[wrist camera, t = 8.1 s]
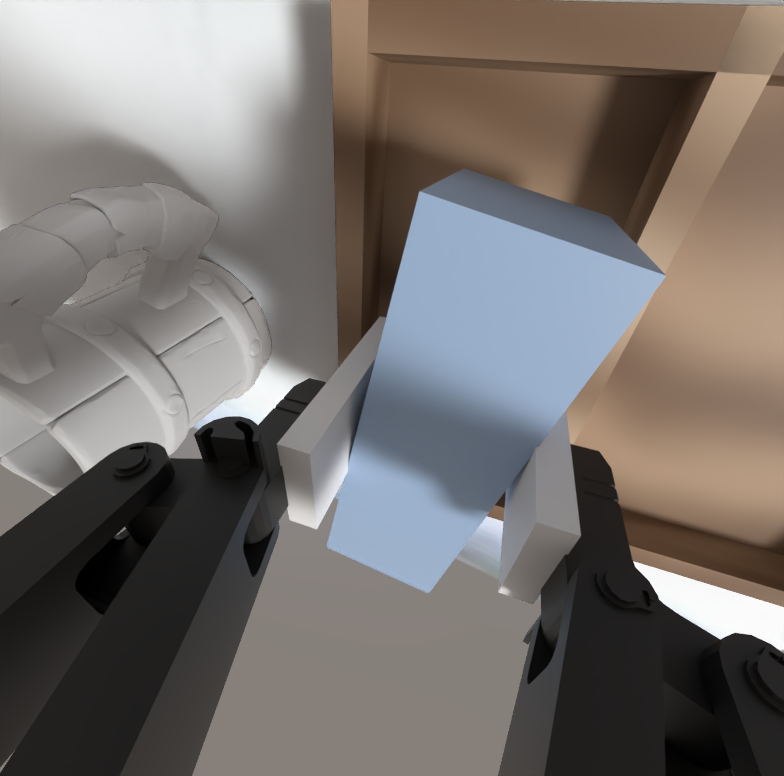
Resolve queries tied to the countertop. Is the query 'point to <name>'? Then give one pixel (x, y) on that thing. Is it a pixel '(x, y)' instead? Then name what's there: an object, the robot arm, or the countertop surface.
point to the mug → (116, 331)
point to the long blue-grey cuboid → (478, 363)
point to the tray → (625, 206)
